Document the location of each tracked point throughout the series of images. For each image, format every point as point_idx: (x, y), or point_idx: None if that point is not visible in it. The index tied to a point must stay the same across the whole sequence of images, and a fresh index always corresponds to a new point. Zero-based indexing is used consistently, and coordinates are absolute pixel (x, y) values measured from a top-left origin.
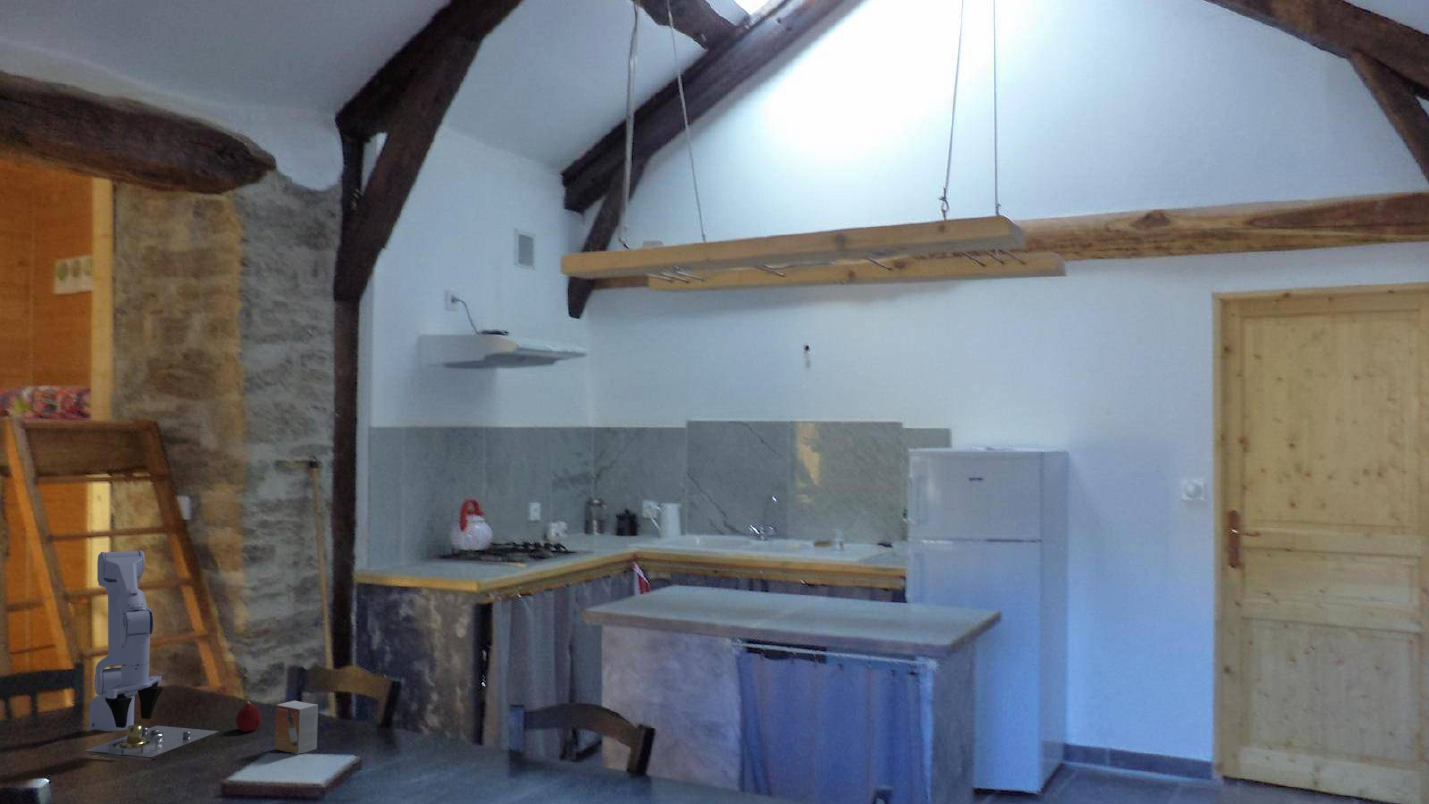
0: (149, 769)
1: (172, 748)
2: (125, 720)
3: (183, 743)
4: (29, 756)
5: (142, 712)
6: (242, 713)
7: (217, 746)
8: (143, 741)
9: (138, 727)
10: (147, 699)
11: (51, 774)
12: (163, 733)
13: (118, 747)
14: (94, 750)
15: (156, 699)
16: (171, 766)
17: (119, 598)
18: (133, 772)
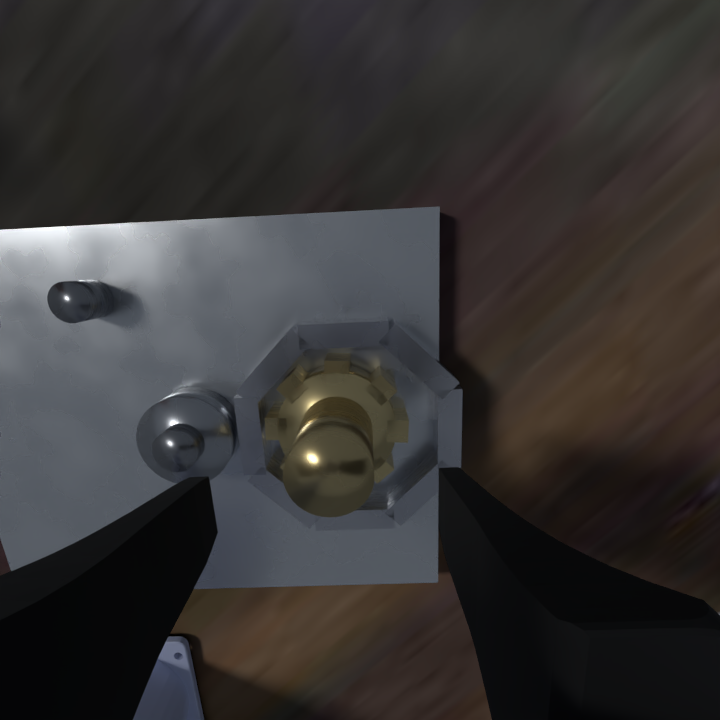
0: (557, 100)
1: (270, 220)
2: (470, 487)
3: (171, 238)
4: None
5: (197, 561)
6: None
7: (71, 67)
8: (310, 393)
9: (339, 435)
10: (111, 632)
11: (705, 483)
12: (152, 406)
13: None
14: (428, 547)
15: (42, 563)
16: (479, 14)
17: None
18: (622, 145)
